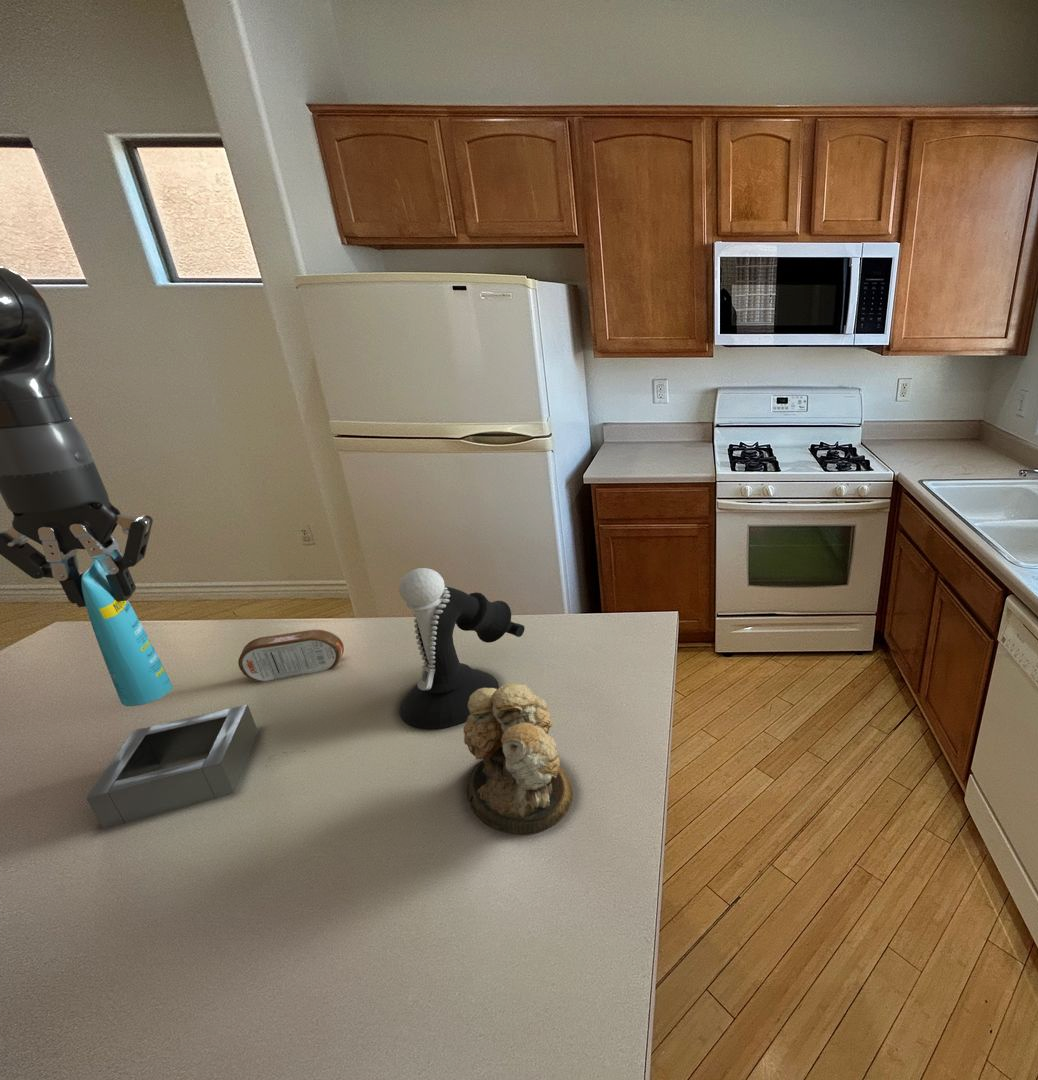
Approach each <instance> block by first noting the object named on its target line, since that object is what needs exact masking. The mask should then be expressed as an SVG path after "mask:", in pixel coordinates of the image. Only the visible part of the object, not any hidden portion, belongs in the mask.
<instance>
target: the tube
mask: <svg viewBox="0 0 1038 1080" xmlns="http://www.w3.org/2000/svg"><path fill="white" fill-rule="evenodd" d="M92 559H93V558H92ZM83 573H84V574H83V575H82V581H81V583H82V592H83V597H84V601H85V604H86V607H85V608H86V612H87V614H88V618H89V622H90V624H91V627H92V630H93V634H94V636H95V638H96V641H97V644H98V648H99V649H100V652H101V655H102V659H103V660H104V664H105V666H106V668H107V670H108V673H109V676H110V679H111V681H112V684H113V687H114V689H115V692H116V694H117V696H118V699H119V702H120V703H121V705H122V706H125V707H137V706H144V705H147V704H151V703H153V702H156V701H158V700H160V699H162V698H163V697H166V696H167V695H168V694H169V693H170V692H172V690H173V683H172V681H171V679H170V676H169V675H168V673H167V671H166V669H165V667H164V666H163V665H164V664H163V663H162V661H161V660H160V657H159V655H158V653H157V651H156V649H155V647H154V646H153V644H152V641H151V640H150V638H149V636H148V634H147V632H146V630H145V628H144V626H143V624H142V623H141V621H140V619H139V617H138V615H137V614H136V612H135V610H134V608H133V607H132V604H131V603H130V601H129V599H128V600H126V601H120V602H118V601H117V600H116V598H115V596H114V594H113V592H112V589H111V587H110V585H109V583H108V581H107V578H106V575H107V574H108V573H106V572H105V571H104V569H103V568H102V567H101V565H100V564H99V562H98V561H97V560H96V559H93V560H92V562H91V563H90V565H89V567H88V569H87V570H86V571H84V572H83Z"/></svg>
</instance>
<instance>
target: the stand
mask: <svg viewBox="0 0 1038 1080" xmlns="http://www.w3.org/2000/svg"><path fill="white" fill-rule="evenodd" d="M258 734H259V729H258V727H257V725H256V721H255V720H254V716H253V714H252V712H251V709H250V707H249V704H243V705H240V706H235V707H229V708H225V709H222V710H217V711H212V712H208V713H204V714H199V715H194V716H190V717H185V718H181V719H176V720H173V721H167V722H164V723H159V724H155V725H150V726H146V727H141V728H138V729H133V730H131V733H130V734H129V735H128V737H127V738H126V739H125V741H124V743H123V744H122V745H121V747H120V748H119V750H118V751H117V752H116V754H115V756H114V757H113V759H111V761H110V762H109V764H108V765H107V767H106V768H105V769H104V772H103V773H102V774H101V775H100V777H99V778H98V780H97V781H96V783H95V784H94V786H93V787H92V788H91V790H90V791H89V792H88V794H87V795H86V797H85V800H86V801H87V803H88V805H89V807H90V808H91V810H92V812H93V813H94V815H95V816H96V819H97V820H98V822H99V823H100V826H101V827H102V829H103V830H106V829H110V828H112V827H113V828H114V827H117V826H120V825H125V824H127V823H131V822H135V821H138V820H142V819H145V818H149V817H150V818H151V817H153V816H156V815H160V814H163V813H168V812H171V811H175V810H178V809H182V808H185V807H190V806H193V805H196V804H200V803H204V802H207V801H211V800H215V799H218V798H222V797H226V796H228V795H233V794H235V791H236V789H237V787H238V784H239V782H240V779H241V776H242V774H243V772H244V770H245V767H246V764H247V762H248V759H249V757H250V755H251V752H252V749H253V747H254V744H255V741H256V739H257V737H258ZM208 752H209V753H208ZM205 753H208V754H207V756H206V758H203V759H202V758H201V759H198V760H194V761H191V762H187V763H182V764H178V765H173V766H170V767H167V768H161V769H158V768H159V766H160V764H164V763H168V762H172V761H176V760H181V759H184V758H185V759H186V758H189V757H191V756H196V755H200V754H205ZM157 769H158V770H157Z"/></svg>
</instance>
